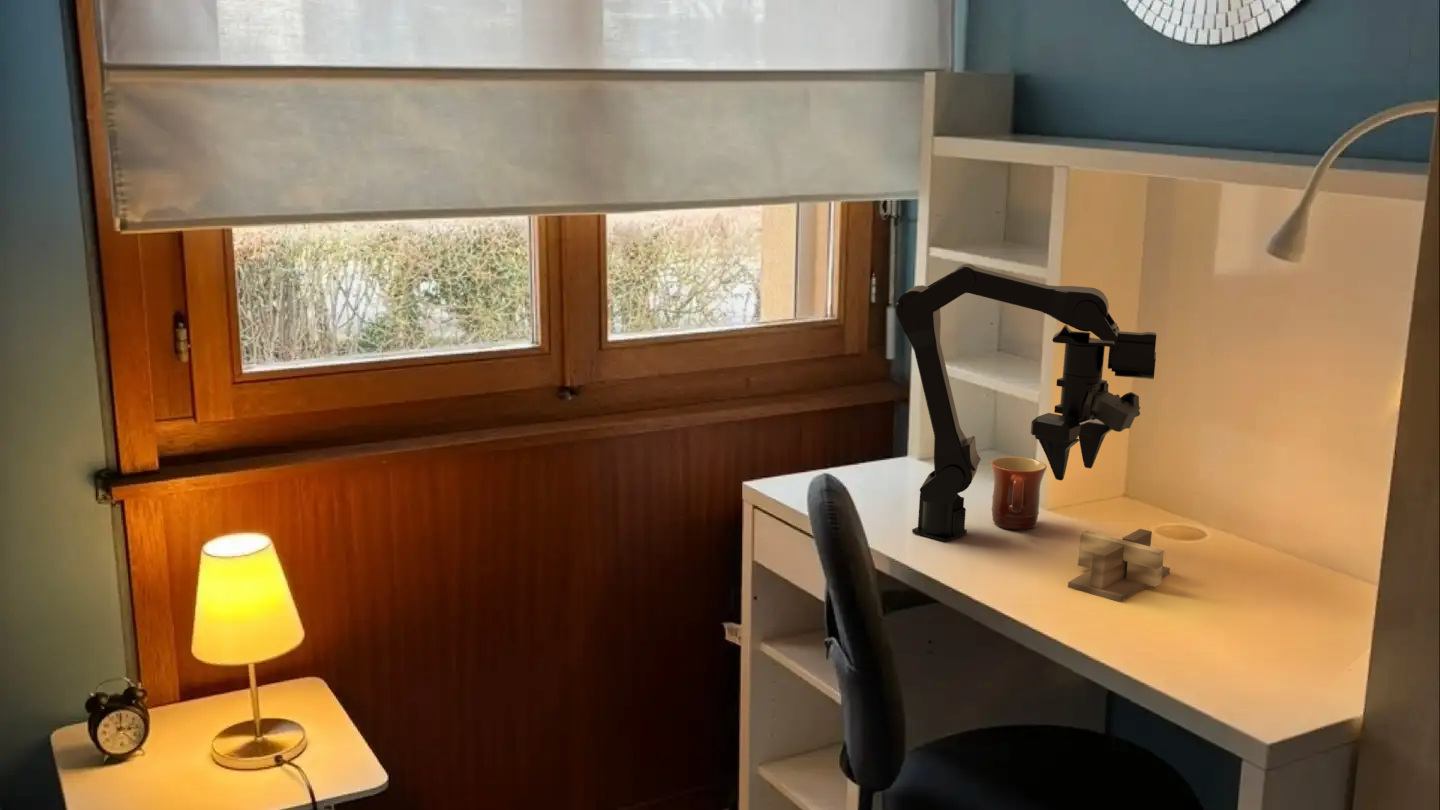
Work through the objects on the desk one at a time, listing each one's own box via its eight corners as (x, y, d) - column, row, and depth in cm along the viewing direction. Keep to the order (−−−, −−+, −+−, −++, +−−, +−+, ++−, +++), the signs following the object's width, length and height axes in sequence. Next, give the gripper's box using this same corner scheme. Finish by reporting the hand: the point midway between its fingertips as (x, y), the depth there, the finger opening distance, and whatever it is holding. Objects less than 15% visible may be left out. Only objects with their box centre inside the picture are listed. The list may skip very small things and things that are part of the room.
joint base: (1067, 587, 197) (1071, 548, 195) (1118, 559, 208) (1122, 523, 207) (1120, 601, 192) (1124, 562, 190) (1169, 573, 203) (1173, 535, 202)
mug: (987, 514, 229) (991, 454, 226) (1041, 518, 227) (1046, 458, 225) (985, 537, 217) (990, 474, 215) (1042, 542, 215) (1047, 479, 213)
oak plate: (1077, 565, 203) (1080, 533, 202) (1083, 562, 204) (1086, 530, 203) (1155, 586, 195) (1158, 553, 194) (1160, 583, 197) (1164, 550, 196)
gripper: (1103, 391, 194) (1094, 498, 198) (1160, 372, 208) (1151, 472, 212) (1032, 379, 201) (1025, 482, 205) (1092, 361, 215) (1084, 458, 219)
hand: (1074, 473), depth 210 cm, fingers open, 9 cm apart
